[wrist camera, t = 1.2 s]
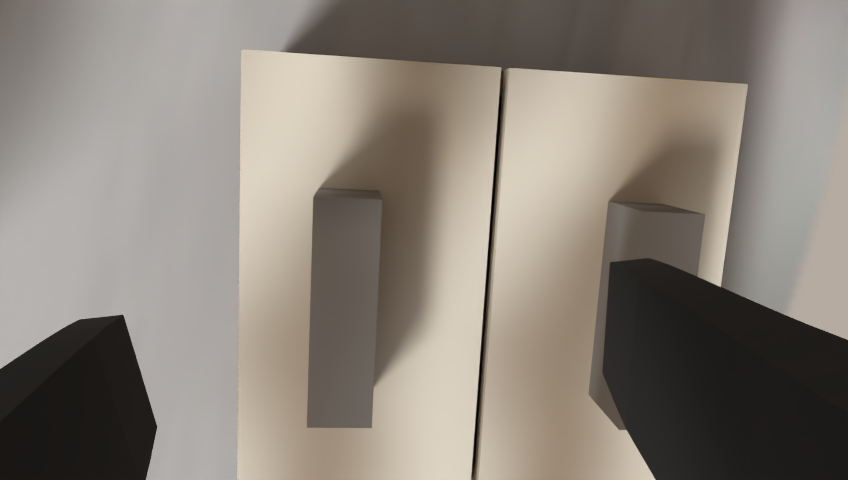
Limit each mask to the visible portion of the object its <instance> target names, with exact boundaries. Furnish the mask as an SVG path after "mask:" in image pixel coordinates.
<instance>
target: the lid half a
mask: <svg viewBox="0 0 848 480" xmlns="http://www.w3.org/2000/svg"><path fill="white" fill-rule="evenodd" d="M500 78H501V67H491V66H476V65H462V64H447V63H433V62H418V61H403V60H389V59H374V58H360V57H345V56H330V55H316V54H301V53H287V52H272V51H257V50H243V49H241V130H240V237H239V343H238V450H237V480H471V473H472V459H473V445H474V432H475V418H476V405H477V391H478V377H479V364H480V350H481V337H482V323H483V309H484V296H485V282H486V268H487V255H488V241H489V228H490V214H491V200H492V187H493V173H494V159H495V146H496V132H497V119H498V105H499V91H500Z"/></svg>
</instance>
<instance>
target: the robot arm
mask: <svg viewBox="0 0 848 480" xmlns="http://www.w3.org/2000/svg"><path fill="white" fill-rule="evenodd" d="M602 373H603V376H604V378H605V381H606V383H607V386H608V388H609V391H610V393H611V396H612V398H613V401H614V403H615V405H616V408H617V410H618V412H619V414H620V417H621V419H622V421H623V424H624V426H625V428H626V430H627V432H628V433H629V435H630V437H631V439H632V440H633V442H634V444H635V446H636V447H637V449H638V451H639V452H640V454H641V456H642V458H643V459H644V461H645V463H646V464H647V466H648V468H649V469H650V471H651V473H652V475H653V476H654V478H655V480H848V340H846V339H844V338H841V337H839V336H836V335H833V334H831V333H828V332H825V331H823V330H820V329H818V328H815V327H813V326H810V325H808V324H805V323H803V322H800V321H798V320H795V319H793V318H791V317H788V316H786V315H784V314H781V313H779V312H776V311H774V310H772V309H769V308H767V307H765V306H763V305H760V304H758V303H756V302H753V301H751V300H749V299H747V298H744V297H742V296H740V295H738V294H735V293H733V292H731V291H729V290H726V289H724V288H722V287H720V286H717V285H715V284H713V283H711V282H708V281H706V280H704V279H702V278H699V277H697V276H695V275H693V274H690V273H688V272H686V271H683V270H681V269H678V268H676V267H674V266H671V265H668V264H666V263H663V262H660V261H657V260H654V259H651V258H643V259H634V260H625V261H616V262H610V267H609V282H608V296H607V311H606V325H605V340H604V354H603V369H602ZM156 430H157V425H156V421H155V418H154V415H153V412H152V408H151V405H150V402H149V398H148V395H147V392H146V388H145V385H144V382H143V379H142V375H141V372H140V369H139V365H138V362H137V359H136V355H135V352H134V349H133V346H132V342H131V339H130V336H129V332H128V329H127V326H126V322H125V319H124V316H123V315H118V316H108V317H99V318H90V319H81V320H78V321H76V322H74V323H72V324H70V325H68V326H66V327H65V328H63V329H61V330H60V331H58V332H56V333H55V334H53V335H51V336H50V337H48V338H47V339H45V340H43V341H42V342H40V343H39V344H37V345H36V346H34V347H33V348H31V349H30V350H28V351H27V352H25V353H24V354H22V355H21V356H19V357H18V358H16V359H15V360H13V361H12V362H10V363H9V364H7V365H6V366H4V367H3V368H1V369H0V480H146V476H147V472H148V468H149V464H150V459H151V454H152V449H153V444H154V439H155V434H156Z"/></svg>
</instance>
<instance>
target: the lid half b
mask: <svg viewBox="0 0 848 480" xmlns="http://www.w3.org/2000/svg"><path fill="white" fill-rule="evenodd" d="M747 88H748V84H739V83H724V82H710V81H695V80H681V79H666V78H652V77H637V76H622V75H608V74H593V73H579V72H564V71H549V70H535V69H520V68H508V69H505V70H504V77H503V91H502V104H501V117H500V131H499V144H498V158H497V171H496V185H495V198H494V212H493V225H492V239H491V252H490V266H489V279H488V293H487V306H486V320H485V333H484V347H483V360H482V374H481V387H480V401H479V414H478V428H477V441H476V455H475V468H474V480H655V478H654V476H653V475H652V473H651V471H650V469H649V468H648V466H647V464H646V463H645V461H644V459H643V458H642V456H641V454H640V452H639V451H638V449H637V447H636V446H635V444H634V442H633V440H632V439H631V437H630V435H629V433H628V432H627V430H626V428H625V426H624V424H623V421H622V419H621V417H620V414H619V412H618V410H617V408H616V405H615V403H614V401H613V398H612V396H611V393H610V391H609V388H608V386H607V383H606V381H605V378H604V376H603V373H602V369H603V354H604V340H605V325H606V311H607V296H608V282H609V267H610V262H616V261H625V260H634V259H643V258H651V259H654V260H657V261H660V262H663V263H666V264H668V265H671V266H674V267H676V268H678V269H681V270H683V271H686V272H688V273H690V274H693V275H695V276H697V277H699V278H702V279H704V280H706V281H708V282H711V283H713V284H715V285H717V286H720V287H721V281H722V274H723V266H724V259H725V251H726V244H727V237H728V229H729V222H730V214H731V207H732V200H733V192H734V185H735V177H736V170H737V162H738V155H739V148H740V140H741V133H742V125H743V118H744V110H745V103H746V96H747Z"/></svg>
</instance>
